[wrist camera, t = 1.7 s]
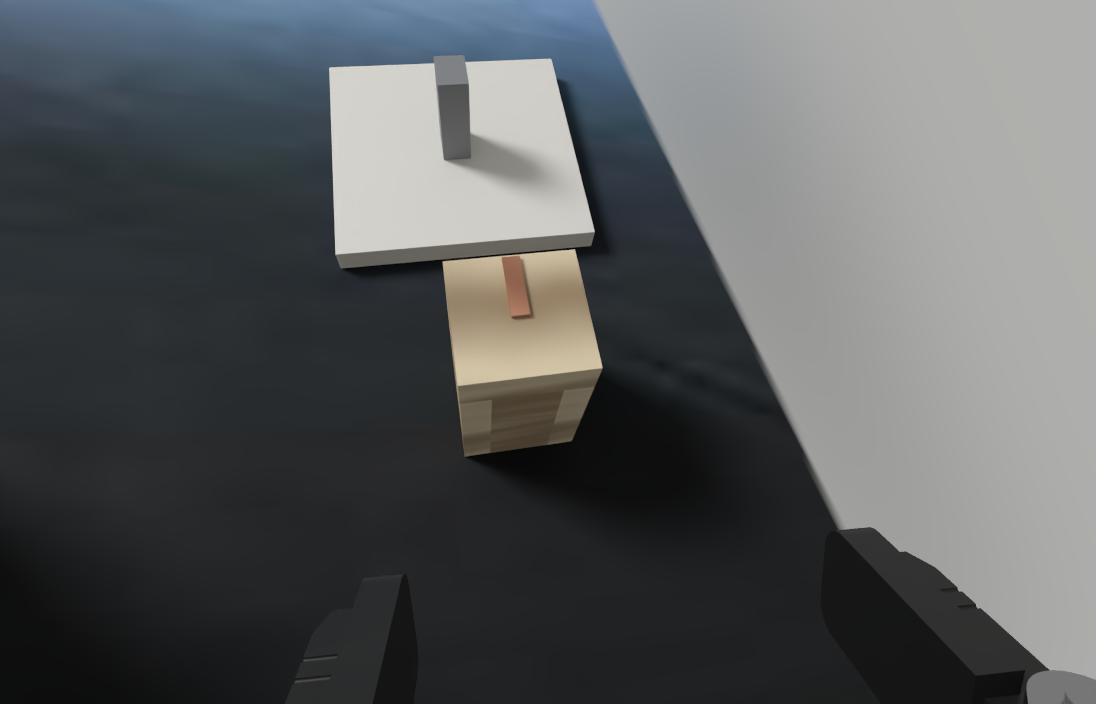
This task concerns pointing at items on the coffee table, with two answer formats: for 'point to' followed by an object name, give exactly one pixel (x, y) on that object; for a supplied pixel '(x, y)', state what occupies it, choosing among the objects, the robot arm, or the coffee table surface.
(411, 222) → the plate
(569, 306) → the beige wooden tall block
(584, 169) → the coffee table surface
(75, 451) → the coffee table surface
